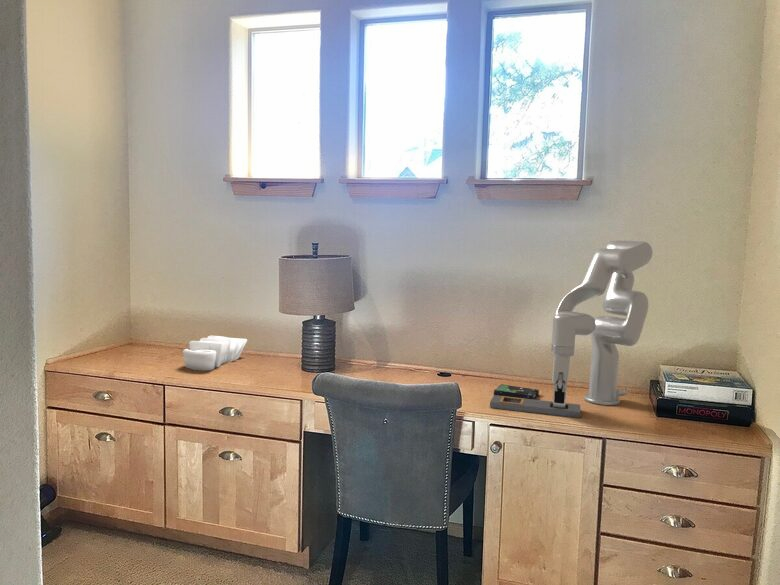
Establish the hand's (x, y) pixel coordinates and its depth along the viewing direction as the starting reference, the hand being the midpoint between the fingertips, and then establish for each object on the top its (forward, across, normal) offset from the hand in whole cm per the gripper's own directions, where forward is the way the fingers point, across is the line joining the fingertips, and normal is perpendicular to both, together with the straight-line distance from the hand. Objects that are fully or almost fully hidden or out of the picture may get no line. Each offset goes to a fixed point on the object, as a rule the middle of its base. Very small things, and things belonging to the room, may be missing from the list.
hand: (559, 399), depth 211 cm
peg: (+4, 0, 0) cm, 4 cm away
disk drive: (+5, -16, -16) cm, 24 cm away
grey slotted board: (+4, 0, -8) cm, 9 cm away
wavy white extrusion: (+5, -14, -145) cm, 146 cm away
